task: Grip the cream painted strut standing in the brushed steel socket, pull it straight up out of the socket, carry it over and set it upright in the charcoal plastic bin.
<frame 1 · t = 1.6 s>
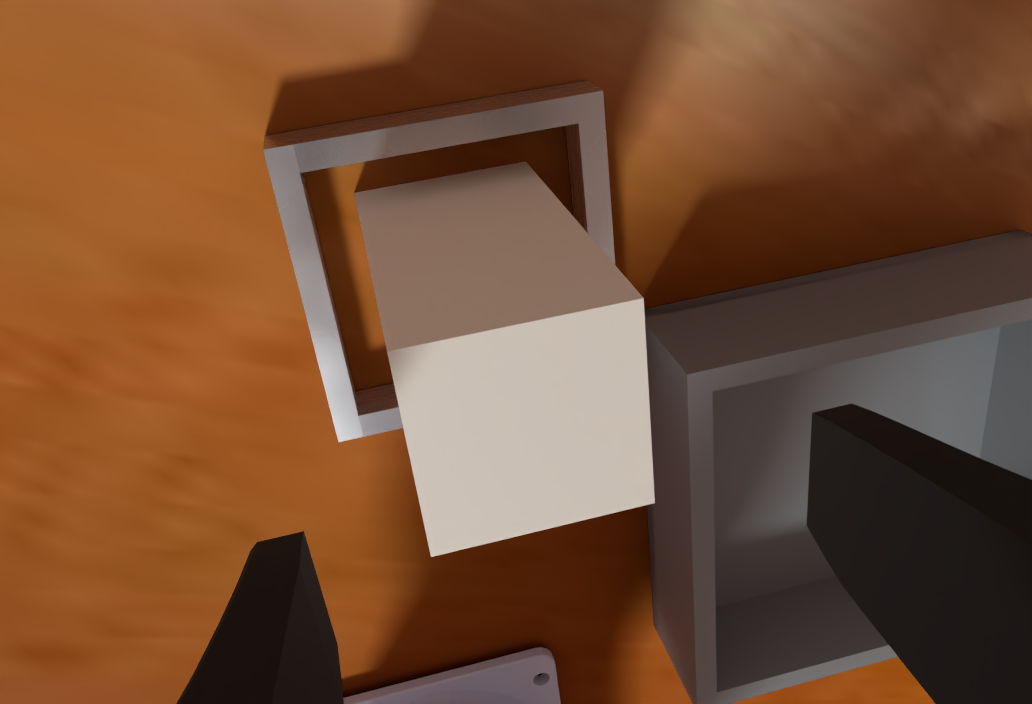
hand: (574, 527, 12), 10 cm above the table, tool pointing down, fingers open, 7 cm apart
bin: (824, 441, 27), on the table
steel socket: (454, 258, 21), on the table
strut: (485, 328, 18), in the steel socket
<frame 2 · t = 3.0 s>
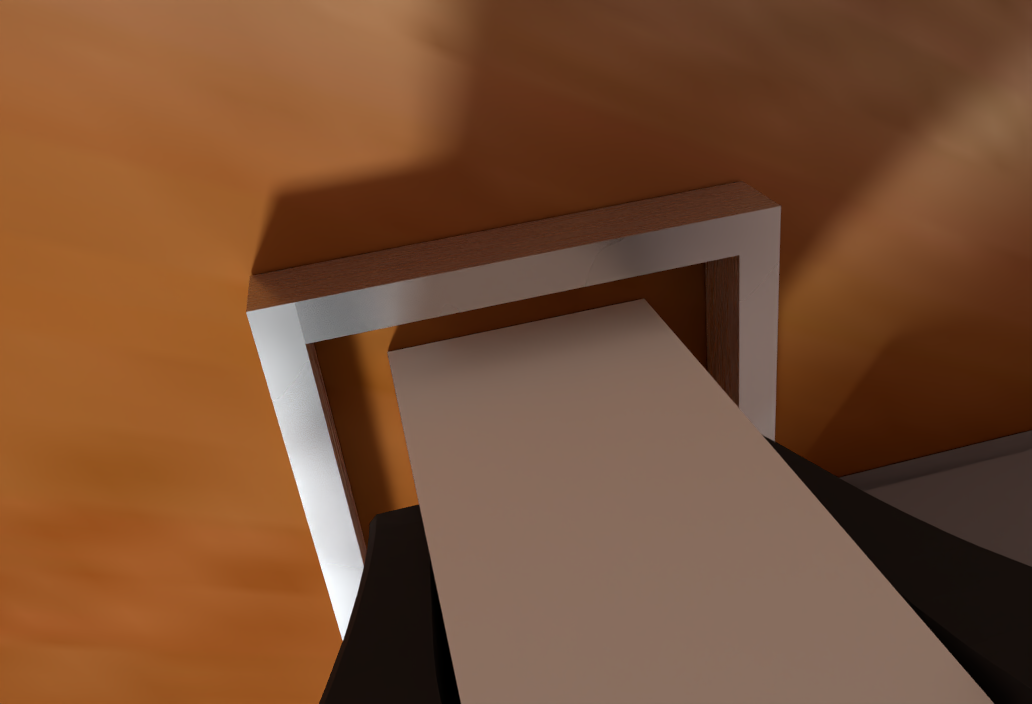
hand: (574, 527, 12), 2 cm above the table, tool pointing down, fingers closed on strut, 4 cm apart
bin: (1012, 636, 20), on the table
steel socket: (533, 435, 14), on the table
strut: (609, 606, 11), in the steel socket, touching gripper
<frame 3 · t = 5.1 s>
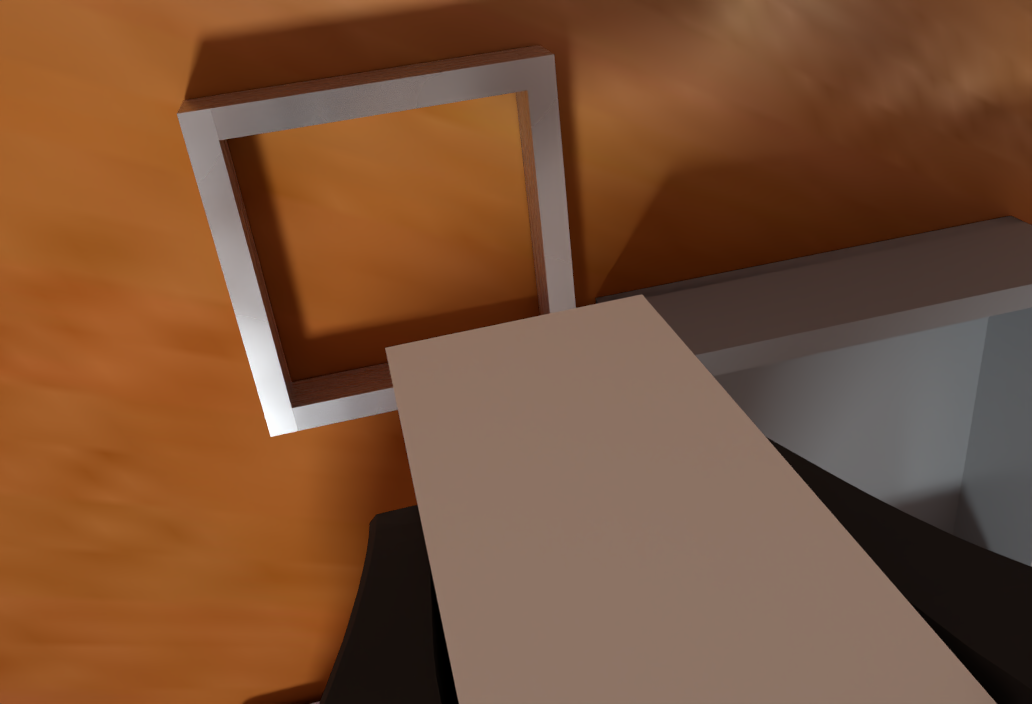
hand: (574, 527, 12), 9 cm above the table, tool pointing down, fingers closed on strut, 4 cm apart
bin: (800, 440, 25), on the table
steel socket: (397, 238, 20), on the table
strut: (606, 600, 11), point 11 cm above the table, touching gripper
when the fingers open (4 cm above the table, at t = 7.2 s): strut drops 1 cm, resting on bin.
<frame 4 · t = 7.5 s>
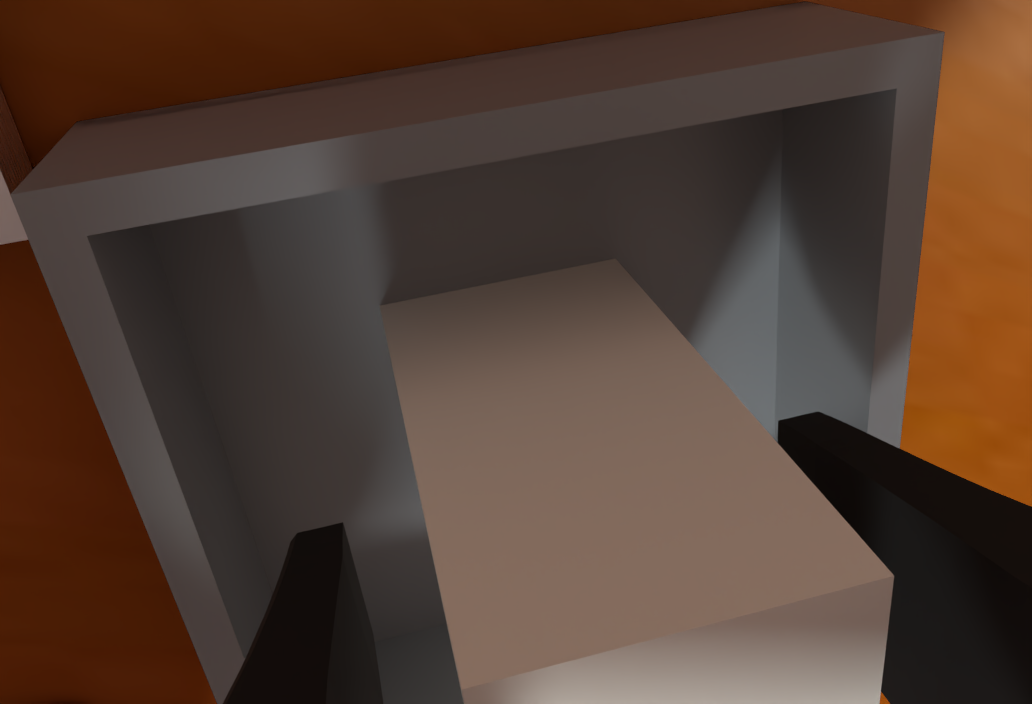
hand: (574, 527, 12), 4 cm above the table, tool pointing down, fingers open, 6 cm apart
bin: (507, 376, 16), on the table
strut: (577, 525, 12), in the bin
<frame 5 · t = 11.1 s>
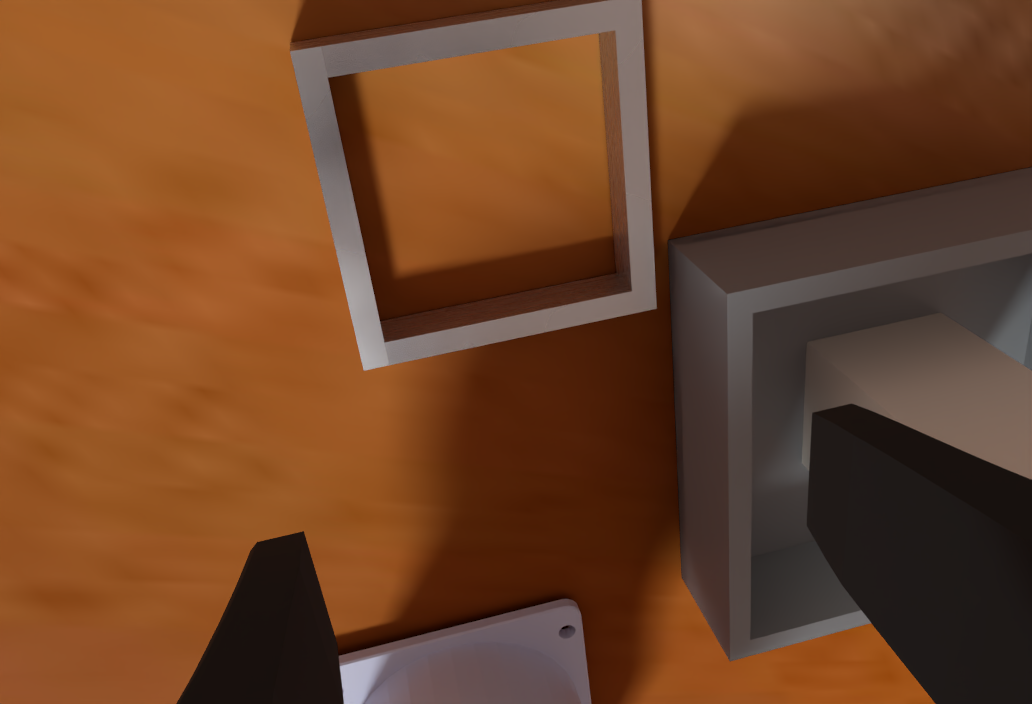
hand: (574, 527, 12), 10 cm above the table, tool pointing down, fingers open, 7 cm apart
bin: (858, 384, 26), on the table
steel socket: (483, 179, 21), on the table
strut: (961, 468, 22), in the bin
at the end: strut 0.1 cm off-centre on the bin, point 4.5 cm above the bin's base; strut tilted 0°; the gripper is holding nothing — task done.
